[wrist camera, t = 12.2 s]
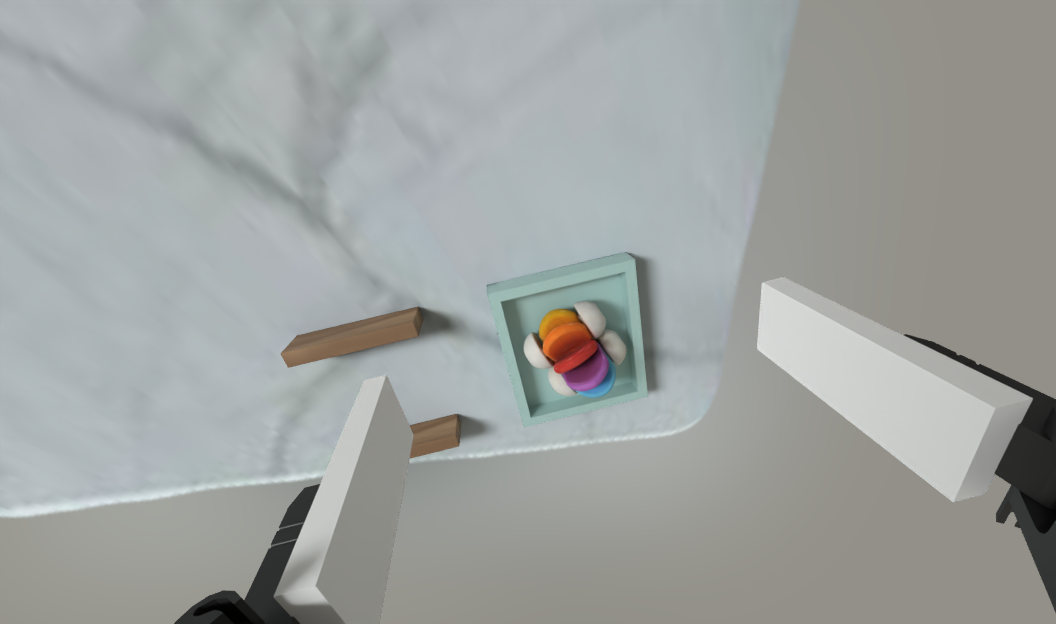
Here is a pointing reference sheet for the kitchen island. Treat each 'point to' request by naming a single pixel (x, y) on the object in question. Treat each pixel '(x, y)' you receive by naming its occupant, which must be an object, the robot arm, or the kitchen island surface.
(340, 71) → the kitchen island surface
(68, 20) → the kitchen island surface
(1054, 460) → the robot arm
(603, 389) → the rainbow disc toy
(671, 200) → the kitchen island surface
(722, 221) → the kitchen island surface
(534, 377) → the tray
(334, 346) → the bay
